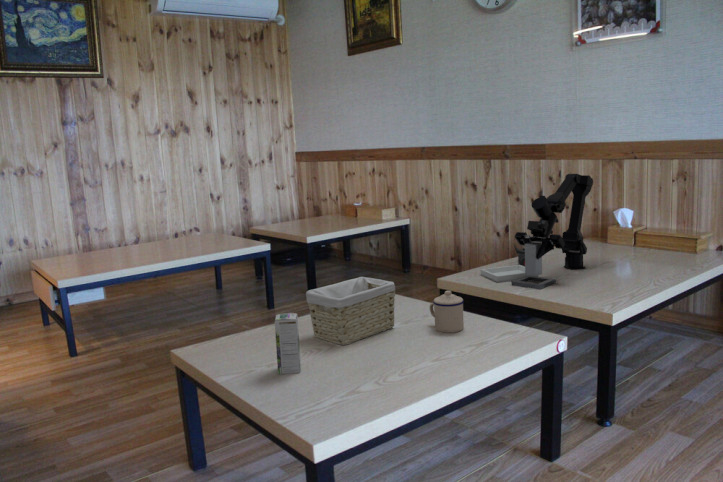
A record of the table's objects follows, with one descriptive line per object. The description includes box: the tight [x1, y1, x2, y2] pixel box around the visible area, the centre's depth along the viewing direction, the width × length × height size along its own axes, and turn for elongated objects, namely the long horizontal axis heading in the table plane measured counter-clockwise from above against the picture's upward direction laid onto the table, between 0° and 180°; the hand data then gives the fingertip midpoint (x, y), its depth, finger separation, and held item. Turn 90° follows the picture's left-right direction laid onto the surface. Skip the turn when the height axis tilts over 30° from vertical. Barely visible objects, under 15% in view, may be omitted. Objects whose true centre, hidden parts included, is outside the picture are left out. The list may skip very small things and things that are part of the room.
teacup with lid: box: [429, 290, 465, 334], centre depth 183 cm, size 12×9×12 cm
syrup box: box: [274, 312, 302, 375], centre depth 156 cm, size 6×6×14 cm
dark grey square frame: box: [511, 275, 557, 290], centre depth 231 cm, size 12×12×2 cm
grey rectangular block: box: [524, 242, 543, 277], centre depth 229 cm, size 4×4×12 cm
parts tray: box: [479, 264, 539, 283], centre depth 246 cm, size 18×15×2 cm
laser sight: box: [513, 244, 525, 267], centre depth 264 cm, size 10×22×10 cm, turn 167°
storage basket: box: [305, 276, 396, 346], centre depth 184 cm, size 24×16×15 cm
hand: (531, 258), depth 228 cm, fingers closed on grey rectangular block, 4 cm apart
